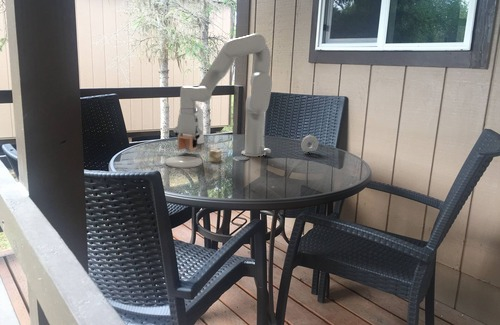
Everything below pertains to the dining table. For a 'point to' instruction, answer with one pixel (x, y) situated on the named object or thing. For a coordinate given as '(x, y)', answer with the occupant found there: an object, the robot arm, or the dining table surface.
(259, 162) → the dining table surface
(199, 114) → the milk
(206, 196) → the dining table surface
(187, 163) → the plate
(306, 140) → the donut
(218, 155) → the block
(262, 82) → the robot arm
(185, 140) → the cover
